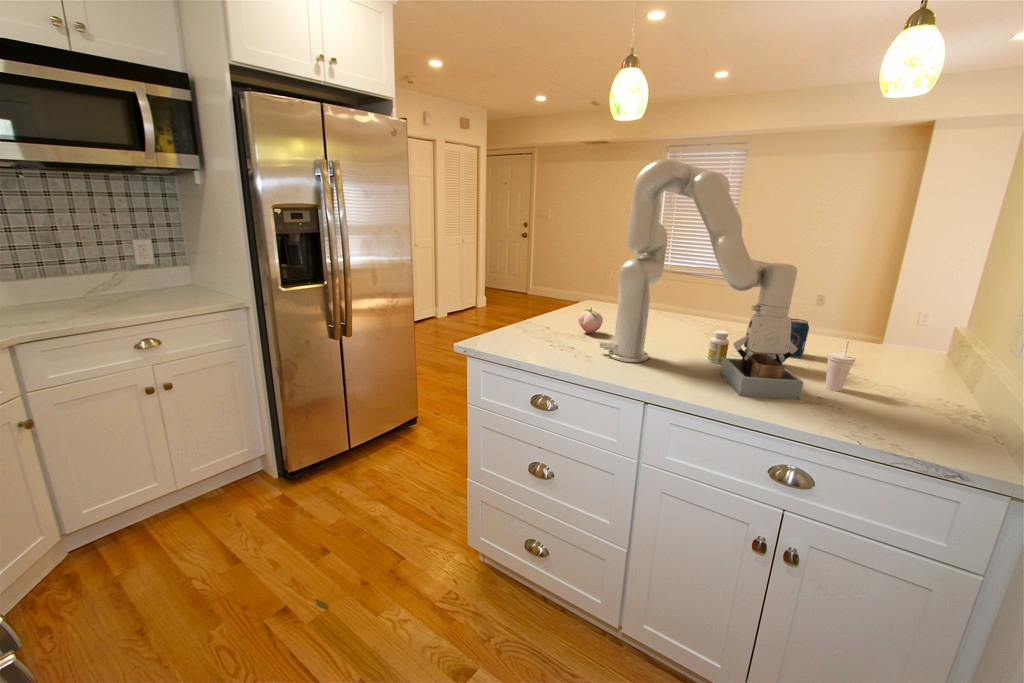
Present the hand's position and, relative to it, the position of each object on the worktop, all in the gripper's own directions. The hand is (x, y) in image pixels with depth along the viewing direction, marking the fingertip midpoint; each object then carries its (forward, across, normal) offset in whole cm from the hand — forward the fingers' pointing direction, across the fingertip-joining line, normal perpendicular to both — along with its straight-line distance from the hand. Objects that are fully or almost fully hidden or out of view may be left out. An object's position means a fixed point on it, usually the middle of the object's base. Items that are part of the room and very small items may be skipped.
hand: (759, 372), depth 126 cm
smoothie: (+4, +21, +2) cm, 21 cm away
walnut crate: (+3, 0, 0) cm, 3 cm away
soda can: (+4, +23, +32) cm, 40 cm away
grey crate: (+4, 0, 0) cm, 4 cm away
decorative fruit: (+4, -44, +44) cm, 62 cm away
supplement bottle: (+4, -5, +20) cm, 21 cm away
